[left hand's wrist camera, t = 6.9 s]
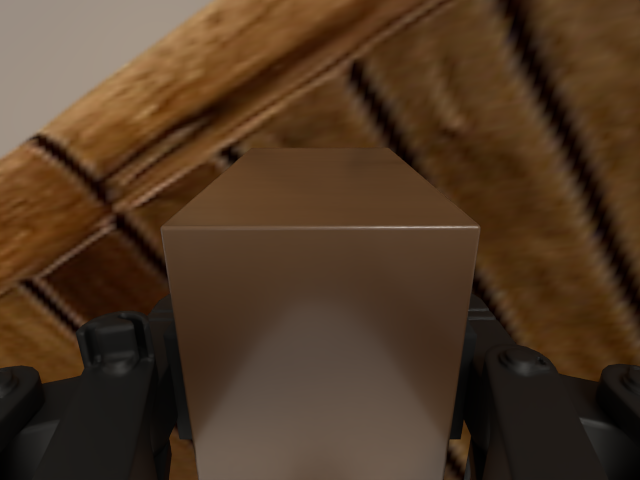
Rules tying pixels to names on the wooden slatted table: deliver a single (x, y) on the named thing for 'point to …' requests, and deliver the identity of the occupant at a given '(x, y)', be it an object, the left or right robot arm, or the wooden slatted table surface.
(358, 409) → the plank
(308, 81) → the wooden slatted table surface
